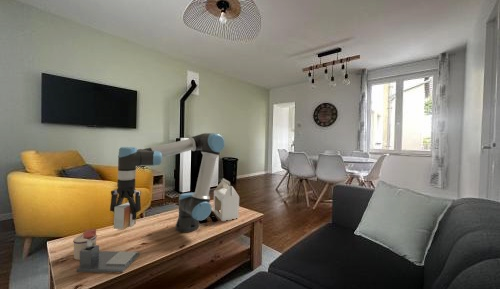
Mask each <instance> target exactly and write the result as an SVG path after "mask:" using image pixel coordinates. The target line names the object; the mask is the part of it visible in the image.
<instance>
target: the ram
mask: <svg viewBox="0 0 500 289" xmlns="http://www.w3.org/2000/svg"><path fill="white" fill-rule="evenodd" d="M82 234H83V238H84V239H87V250H91V249H92V238H93V237H95V236H97V229H95V228H91V229H89V228H88V229H86V230H84V231H83V232H82Z"/></svg>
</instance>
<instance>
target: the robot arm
mask: <svg viewBox="0 0 500 289" xmlns="http://www.w3.org/2000/svg"><path fill="white" fill-rule="evenodd" d="M225 145H226V142H225V139H224V137H223V136H222V135H221V134H219V133H214V132H211V133H207V132H205V133H201V134H196V135H194V136H190V137H188V138H187V139H183V140H178V141H174V142H170V143H166V144H161V145H160V144H159V145H154V146H151V147H148V148H140V149H137V147H135V146H134V147H133V146H120V148H119V149H118V155H117V158H118V161H117V183H116V184H117V189H112V190H111V191H110V195H111V197H110V198H111V199H110V206H109V211H110V212H113V213H114V208H115V207H116V206H119V205H122V204H123V201H124V199H126V200H127V201H128V202H129V204H130V208H131V211H132V213H131V214H130V227H129V228H132V227H133V226H135V224H134V223H135V219H136V220H137V213H138V212H140V211H142V208H141V194H142V191H141V190H136V174H137V173H136V172H137V167H143V166H147V167H149V166H159V165H161V164H162V160H163V158H166V157H171V156H173V155H178V154H182V153H185V152H189V151H190V152H191V151H192V152H195V151H200V153H201V154H202V157H201V163H200V166H199V172H198V175H197V176H198V177H197V179H196V180H197V181H196V186H195V191H194V192H185V193H181V194H180V195H179V196H178V216H177V217H178V218H177V220H176V223H175V230H176V231H177V232H179V233H192V232H194V231H197V230H198V229H199V228H200V222H199V221H203V220H206V219H207V218H208V217H209V216H210V214H211V213H212V210H213V207H212V205H211V203H210V201H211V196H210V190H211V185H212V181H213V180H212V179H213V175H214V170H215V165H216V161H217V158H218V157H219V156H220V154H221V152H222V151H223V150H224V149H225Z"/></svg>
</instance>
